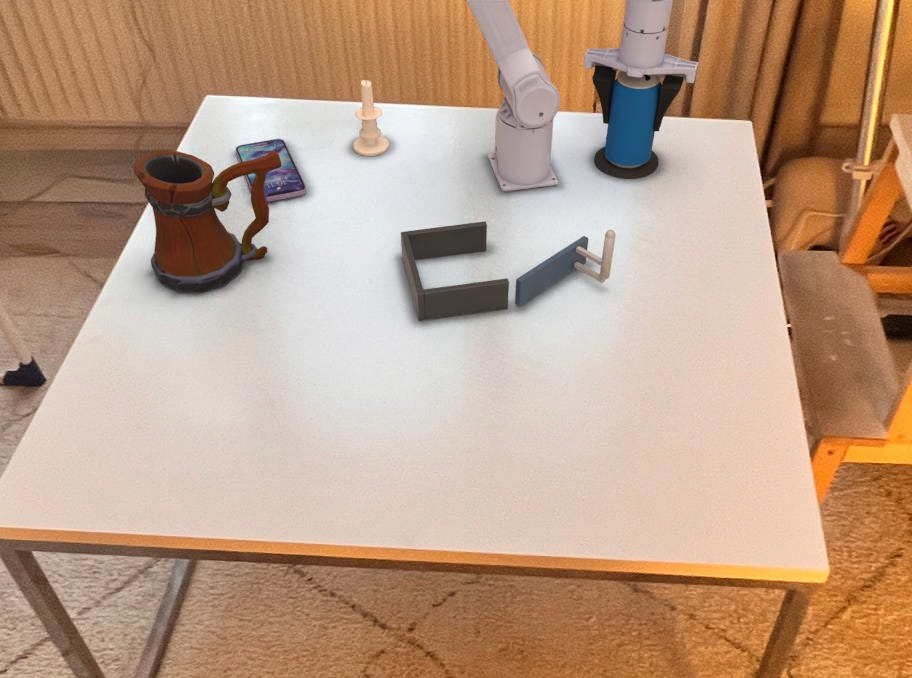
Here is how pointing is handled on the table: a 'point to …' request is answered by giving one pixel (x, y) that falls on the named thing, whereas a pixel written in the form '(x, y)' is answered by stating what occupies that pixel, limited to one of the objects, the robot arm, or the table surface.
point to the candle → (369, 125)
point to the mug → (200, 218)
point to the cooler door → (565, 267)
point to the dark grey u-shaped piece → (457, 296)
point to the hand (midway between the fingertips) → (631, 123)
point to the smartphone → (278, 180)
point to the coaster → (625, 173)
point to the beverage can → (632, 119)
